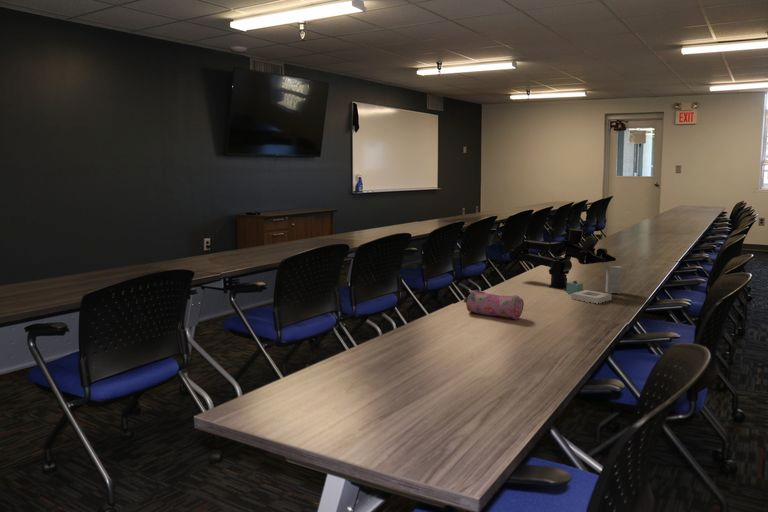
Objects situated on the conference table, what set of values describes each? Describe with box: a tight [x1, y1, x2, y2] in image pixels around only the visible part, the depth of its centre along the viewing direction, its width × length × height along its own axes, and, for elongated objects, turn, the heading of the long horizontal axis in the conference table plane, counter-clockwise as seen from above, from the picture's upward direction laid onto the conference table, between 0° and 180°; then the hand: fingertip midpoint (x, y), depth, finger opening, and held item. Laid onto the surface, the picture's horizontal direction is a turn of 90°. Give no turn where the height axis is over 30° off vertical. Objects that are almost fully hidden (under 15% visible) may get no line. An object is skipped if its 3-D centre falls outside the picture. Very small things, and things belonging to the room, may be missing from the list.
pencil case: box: [463, 289, 525, 321], centre depth 230 cm, size 21×9×9 cm, turn 54°
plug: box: [565, 280, 584, 295], centre depth 271 cm, size 5×5×6 cm
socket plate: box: [570, 289, 613, 305], centre depth 260 cm, size 12×12×2 cm
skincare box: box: [604, 265, 623, 295], centre depth 274 cm, size 6×4×12 cm
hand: (610, 260), depth 265 cm, fingers open, 9 cm apart
